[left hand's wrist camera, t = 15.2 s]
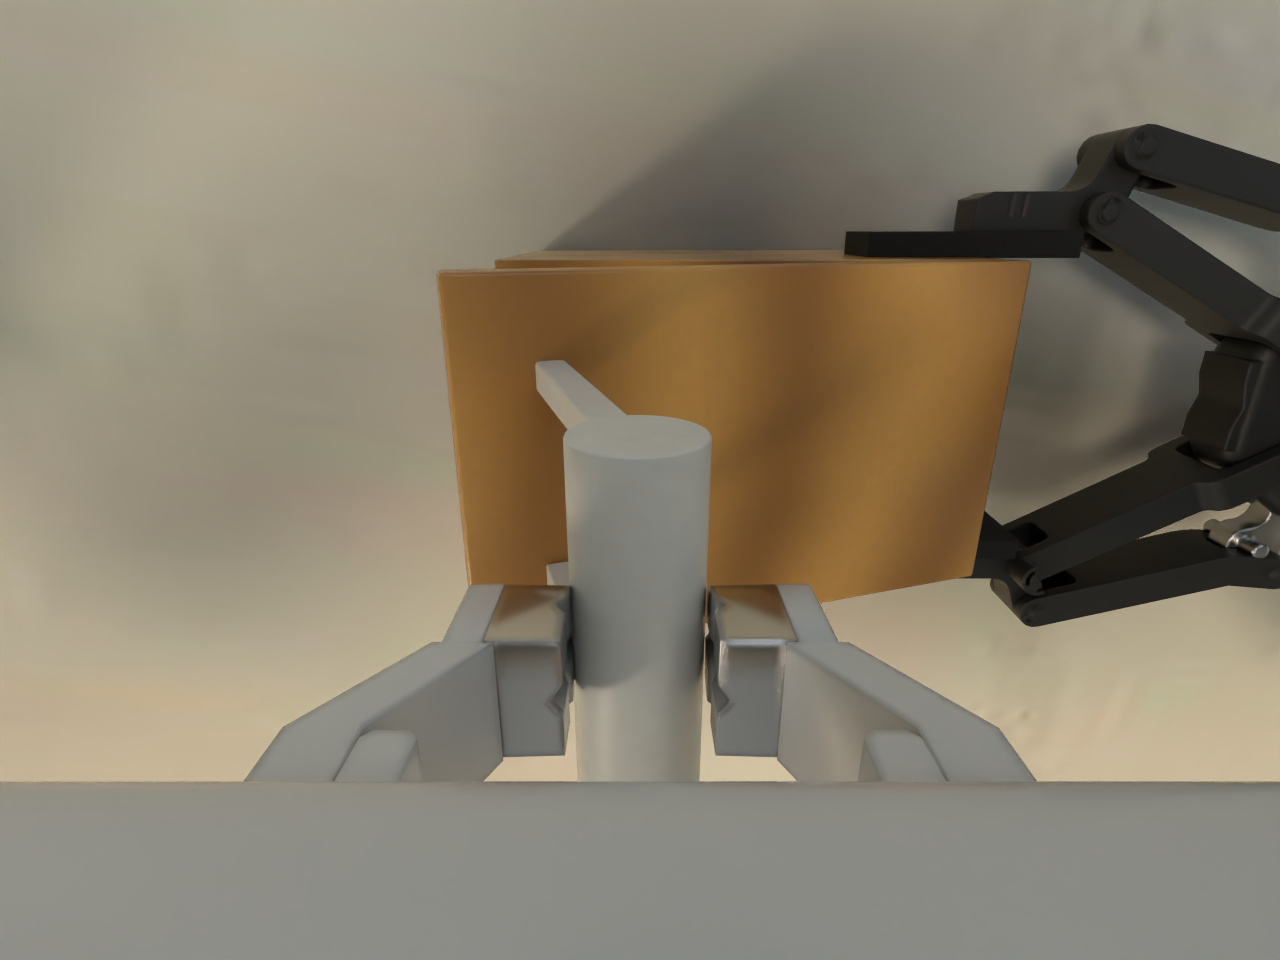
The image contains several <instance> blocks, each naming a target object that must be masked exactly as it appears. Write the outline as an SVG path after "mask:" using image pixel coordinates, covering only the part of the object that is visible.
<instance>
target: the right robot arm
mask: <svg viewBox="0 0 1280 960" xmlns="http://www.w3.org/2000/svg"><path fill="white" fill-rule="evenodd" d="M1077 165H1078V167H1077V169H1076V171H1075V173H1074V175H1073V177H1072V178H1071V179H1070V181H1069V182H1068V183H1067V184H1066V185H1065V186H1064V187H1063V188H1061V189H1060V190H1058V191H1056V192H988V193H978V194H973V195H971V196H968V197H966V198H963V199H961V200H958V205H957V211H956V218H955V225H954V231H939V232H846V239H845V250H844V254H847V255H855V256H862V257H985V258H1079V256H1080V252H1081V251H1083V252H1084V253H1086V254H1087V255H1089V256H1090V257H1092V258H1094V259H1095V260H1097V261H1098V262H1100V263H1101V264H1103V265H1104V266H1106V267H1107V268H1109V269H1110V270H1112V271H1113V272H1115V273H1116V274H1118V275H1119V276H1121V277H1122V278H1124V279H1125V280H1127V281H1129V282H1130V283H1132V284H1133V285H1135V286H1136V287H1138V288H1139V289H1141V290H1142V291H1144V292H1145V293H1147V294H1148V295H1150V296H1151V297H1153V298H1154V299H1156V300H1157V301H1159V302H1160V303H1162V304H1164V305H1165V306H1167V307H1168V308H1170V309H1171V310H1173V311H1174V312H1176V313H1177V314H1179V315H1180V316H1182V317H1183V318H1185V319H1186V321H1185V323H1186V324H1187V325H1188V326H1189V327H1191V328H1192V329H1194V330H1195V331H1197V332H1199V333H1200V334H1202V335H1203V336H1205V337H1206V338H1208V339H1209V340H1211V341H1212V342H1214V343H1215V344H1217V345H1218V346H1217V347H1216V349H1215V350H1214V351H1205V355H1204V358H1203V362H1202V365H1201V369H1200V372H1199V395H1198V397H1197V398H1196V400H1195V402H1194V404H1193V405H1192V407H1191V409H1190V411H1189V412H1188V414H1187V417H1186V421H1185V424H1184V428H1183V431H1182V435H1184V436H1182V437H1179V438H1177V439H1175V440H1173V441H1170V442H1168V443H1166V444H1164V445H1162V446H1159V447H1157V448H1155V449H1153V450H1152V451H1150V452H1149V454H1148V459H1147V460H1146V461H1144V462H1142V463H1140V464H1138V465H1136V466H1133V467H1131V468H1129V469H1127V470H1125V471H1122V472H1120V473H1118V474H1116V475H1113V476H1111V477H1109V478H1107V479H1105V480H1102V481H1100V482H1098V483H1096V484H1094V485H1091V486H1089V487H1087V488H1085V489H1082V490H1080V491H1078V492H1076V493H1074V494H1071V495H1069V496H1067V497H1065V498H1063V499H1060V500H1058V501H1056V502H1054V503H1052V504H1049V505H1047V506H1045V507H1043V508H1040V509H1038V510H1036V511H1034V512H1032V513H1029V514H1027V515H1025V516H1023V517H1021V518H1018V519H1016V520H1014V521H1012V522H1009V523H1007V524H1005V525H1003V526H1002V525H1000V524H999V523H998V522H997V521H996V520H994V519H993V518H992V517H991V516H990V515H989V514H987V513H986V512H985V511H984V515H983V520H982V526H981V531H980V536H979V541H978V547H977V552H976V557H975V562H974V568H973V573H972V575H971V576H967V577H961V578H992V579H991V582H990V586H991V589H992V591H993V592H994V593H995V594H996V595H997V596H998V597H999V598H1000V599H1001V600H1002V601H1003V602H1004V603H1005V604H1006V605H1007V606H1008V607H1009V609H1010V610H1011V611H1012V612H1013V613H1014V614H1015V615H1016V616H1017V617H1018V618H1019V619H1020V620H1021V621H1022V622H1023V623H1024V624H1025V625H1027V626H1030V627H1036V626H1042V625H1046V624H1051V623H1056V622H1060V621H1065V620H1070V619H1074V618H1079V617H1084V616H1088V615H1093V614H1098V613H1102V612H1107V611H1112V610H1116V609H1121V608H1126V607H1130V606H1135V605H1140V604H1144V603H1149V602H1154V601H1158V600H1163V599H1168V598H1172V597H1177V596H1182V595H1186V594H1191V593H1196V592H1200V591H1205V590H1210V589H1214V588H1219V587H1224V586H1228V585H1229V586H1242V587H1254V588H1267V589H1279V588H1280V555H1279V554H1280V298H1278V297H1275V296H1272V295H1270V294H1269V293H1267V292H1266V291H1264V290H1263V289H1261V288H1260V287H1258V286H1257V285H1255V284H1254V283H1252V282H1251V281H1249V280H1248V279H1247V278H1245V277H1244V276H1242V275H1241V274H1239V273H1238V272H1236V271H1235V270H1233V269H1232V268H1230V267H1229V266H1227V265H1226V264H1225V263H1223V262H1222V261H1220V260H1219V259H1217V258H1216V257H1214V256H1213V255H1211V254H1210V253H1208V252H1207V251H1205V250H1204V249H1203V248H1201V247H1200V246H1198V245H1197V244H1195V243H1194V242H1192V241H1191V240H1189V239H1188V238H1186V237H1185V236H1184V235H1182V234H1181V233H1179V232H1178V231H1176V230H1175V229H1173V228H1172V227H1170V226H1169V225H1167V224H1166V223H1164V222H1163V221H1162V220H1160V219H1159V218H1157V217H1156V216H1154V215H1153V214H1151V213H1150V212H1148V211H1147V210H1145V209H1144V208H1142V207H1141V206H1140V205H1138V204H1137V203H1135V202H1134V201H1132V200H1131V199H1129V198H1128V196H1129V195H1130V193H1131V191H1132V189H1135V190H1139V191H1142V192H1145V193H1148V194H1151V195H1155V196H1158V197H1161V198H1164V199H1168V200H1171V201H1174V202H1177V203H1180V204H1184V205H1187V206H1190V207H1193V208H1196V209H1200V210H1203V211H1206V212H1209V213H1213V214H1216V215H1219V216H1222V217H1225V218H1229V219H1232V220H1235V221H1238V222H1242V223H1245V224H1248V225H1251V226H1254V227H1258V228H1261V229H1266V230H1270V231H1278V232H1280V164H1278V163H1275V162H1272V161H1269V160H1266V159H1262V158H1259V157H1256V156H1253V155H1250V154H1247V153H1244V152H1241V151H1237V150H1234V149H1231V148H1228V147H1225V146H1222V145H1219V144H1216V143H1212V142H1209V141H1206V140H1203V139H1200V138H1197V137H1194V136H1191V135H1187V134H1184V133H1181V132H1178V131H1175V130H1172V129H1169V128H1166V127H1162V126H1159V125H1155V124H1146V125H1141V126H1136V127H1132V128H1127V129H1122V130H1117V131H1112V132H1108V133H1103V134H1098V135H1095V136H1092V137H1090V138H1088V139H1087V140H1086V141H1085V142H1083V144H1082V145H1081V147H1080V148H1079V150H1078V154H1077ZM1245 502H1249V503H1251V504H1250V506H1249V508H1248V509H1247V510H1246V512H1245V513H1243V514H1242V515H1241V516H1239V517H1236V518H1233V519H1227V520H1223V521H1221V522H1220V521H1218V520H1216V519H1211V520H1208V521H1207V522H1206V523H1205V524H1204V526H1203V530H1197V529H1190V530H1179V531H1173V532H1167V533H1163V534H1159V535H1154V536H1150V537H1145V538H1141V539H1138V538H1140V537H1142V536H1145V535H1147V534H1149V533H1152V532H1154V531H1156V530H1159V529H1161V528H1163V527H1166V526H1168V525H1170V524H1172V523H1175V522H1177V521H1179V520H1182V519H1184V518H1186V517H1189V516H1191V515H1193V514H1196V513H1198V512H1201V511H1204V510H1216V511H1221V510H1228V509H1231V508H1234V507H1236V506H1238V505H1241V504H1243V503H1245ZM1135 539H1136V540H1135Z"/></svg>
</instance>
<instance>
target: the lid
mask: <svg viewBox="0 0 1280 960" xmlns="http://www.w3.org/2000/svg"><path fill="white" fill-rule="evenodd" d="M1030 268H1031V262H1029V261H1020V260H1002V259H998V260H945V261H892V262H839V263H785V264H732V265H679V266H626V267H573V268H520V269H467V270H439V271H437V274H436V276H437V286H438V296H439V305H440V315H441V325H442V335H443V344H444V354H445V364H446V374H447V383H448V393H449V403H450V413H451V422H452V432H453V442H454V452H455V461H456V471H457V481H458V491H459V500H460V510H461V520H462V530H463V539H464V549H465V559H466V569H467V578H468V587H469V586H470V585H473V584H505V585H507V584H518V585H570V586H571V589H572V614H573V624H572V630H571V635H572V642H573V646H574V663H575V687H574V704H575V727H576V750H577V773H578V782H699V776H700V748H701V721H702V694H703V666H704V639H705V623H708V621H707V615H706V602H707V590H708V587H709V586H720V585H762V584H776V585H782V584H804V583H807V584H808V585H810V586H811V587H812V589H813V591H814V593H815V595H816V597H817V599H818V601H819V603H822V602H827V601H833V600H839V599H844V598H850V597H855V596H861V595H866V594H872V593H878V592H883V591H889V590H894V589H900V588H905V587H911V586H917V585H922V584H928V583H933V582H939V581H944V580H950V579H956V578H961V577H967V576H971V575H972V573H973V568H974V562H975V557H976V552H977V547H978V541H979V536H980V531H981V526H982V520H983V515H984V510H985V505H986V499H987V494H988V489H989V484H990V478H991V473H992V468H993V463H994V457H995V452H996V447H997V442H998V436H999V431H1000V426H1001V421H1002V415H1003V410H1004V405H1005V400H1006V394H1007V389H1008V384H1009V379H1010V373H1011V368H1012V363H1013V358H1014V352H1015V347H1016V342H1017V337H1018V331H1019V326H1020V321H1021V316H1022V310H1023V305H1024V300H1025V295H1026V289H1027V284H1028V279H1029V274H1030Z"/></svg>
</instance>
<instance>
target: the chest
mask: <svg viewBox="0 0 1280 960" xmlns="http://www.w3.org/2000/svg"><path fill="white" fill-rule="evenodd" d="M945 260H998V259H996V258H985V257H862V256H855V255H847V254H844V250H542V251H536V252H532V253H527V254H522V255H517V256H512V257H508V258H503V259H498V260H495V269H520V268H573V267H626V266H679V265H732V264H785V263H839V262H892V261H945ZM1002 260H1004V259H1002Z"/></svg>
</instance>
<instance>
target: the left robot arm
mask: <svg viewBox="0 0 1280 960" xmlns="http://www.w3.org/2000/svg"><path fill="white" fill-rule="evenodd" d="M706 615H707V621H708V628H709V634H708V635H707V636H706V637H705V683H706V693H707V700H708V701H709V702H710V703H711V728H712V734H713V741H714V747H715V754H716V755H719V756H756V757H777V760H778V761H779V762H780V763H781V764H782V765H783V766H784V767H785V769H786V770H787V771H788V772H789V773H790V774H791V775H792V776H793V777H794V778H795V779H796V780H797V781H745V782H483V781H484V780H485V779H486V778H487V777H488V776H489V775H490V774H491V773H492V772H493V770H494V769H495V768H496V767H497V766H498V765H499V764H500V763H501V762H502V761H503V757H523V756H559V755H565V750H566V744H567V737H568V731H569V724H570V712H569V703H571V702H572V701H573V695H574V687H575V663H574V646H573V642H572V635H571V630H572V624H573V614H572V589H571V586H570V585H518V584H507V585H505V584H473V585H470V586H469V587H468V589H467V591H466V593H465V595H464V597H463V599H462V602H461V604H460V606H459V608H458V610H457V612H456V614H455V616H454V618H453V620H452V622H451V624H450V626H449V628H448V630H447V633H446V635H445V637H444V639H443V641H442V642H432V643H430V644H428V645H426V646H425V647H423V648H421V649H419V650H418V651H416V652H414V653H412V654H410V655H409V656H407V657H405V658H403V659H402V660H400V661H398V662H396V663H395V664H393V665H391V666H389V667H388V668H386V669H384V670H382V671H381V672H379V673H377V674H375V675H374V676H372V677H370V678H368V679H367V680H365V681H363V682H361V683H360V684H358V685H356V686H354V687H353V688H351V689H349V690H347V691H345V692H344V693H342V694H340V695H338V696H337V697H335V698H333V699H331V700H330V701H328V702H326V703H324V704H323V705H321V706H319V707H317V708H316V709H314V710H312V711H310V712H309V713H307V714H305V715H303V716H302V717H300V718H298V719H296V720H295V721H293V722H291V723H289V724H288V725H286V726H284V727H282V729H281V730H280V732H279V733H278V734H277V736H276V737H275V739H274V740H273V741H272V743H271V744H270V745H269V747H268V748H267V750H266V751H265V752H264V754H263V755H262V757H261V758H260V759H259V761H258V762H257V763H256V765H255V766H254V768H253V769H252V770H251V772H250V773H249V775H248V776H247V777H246V779H245V780H244V781H243V782H0V960H1280V782H1259V781H1036V779H1035V778H1034V776H1033V775H1032V774H1031V772H1030V771H1029V769H1028V768H1027V767H1026V765H1025V764H1024V762H1023V761H1022V760H1021V758H1020V757H1019V755H1018V754H1017V753H1016V751H1015V750H1014V748H1013V747H1012V746H1011V744H1010V743H1009V741H1008V740H1007V739H1006V737H1005V736H1004V734H1003V733H1002V732H1001V730H1000V729H999V728H998V727H996V726H994V725H992V724H991V723H989V722H987V721H985V720H984V719H982V718H980V717H978V716H977V715H975V714H973V713H971V712H970V711H968V710H966V709H964V708H963V707H961V706H959V705H957V704H956V703H954V702H952V701H950V700H949V699H947V698H945V697H943V696H942V695H940V694H938V693H936V692H935V691H933V690H931V689H929V688H928V687H926V686H924V685H922V684H921V683H919V682H917V681H915V680H914V679H912V678H910V677H908V676H907V675H905V674H903V673H901V672H900V671H898V670H896V669H894V668H893V667H891V666H889V665H887V664H886V663H884V662H882V661H880V660H879V659H877V658H875V657H873V656H872V655H870V654H868V653H866V652H865V651H863V650H861V649H859V648H858V647H856V646H854V645H852V644H851V643H849V642H838V640H837V638H836V636H835V634H834V632H833V630H832V628H831V626H830V624H829V622H828V620H827V618H826V616H825V614H824V612H823V609H822V607H821V605H820V603H819V601H818V599H817V597H816V595H815V593H814V591H813V589H812V587H811V586H810V585H808V584H807V583H804V584H782V585H776V584H762V585H720V586H709V587H708V590H707V602H706Z"/></svg>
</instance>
